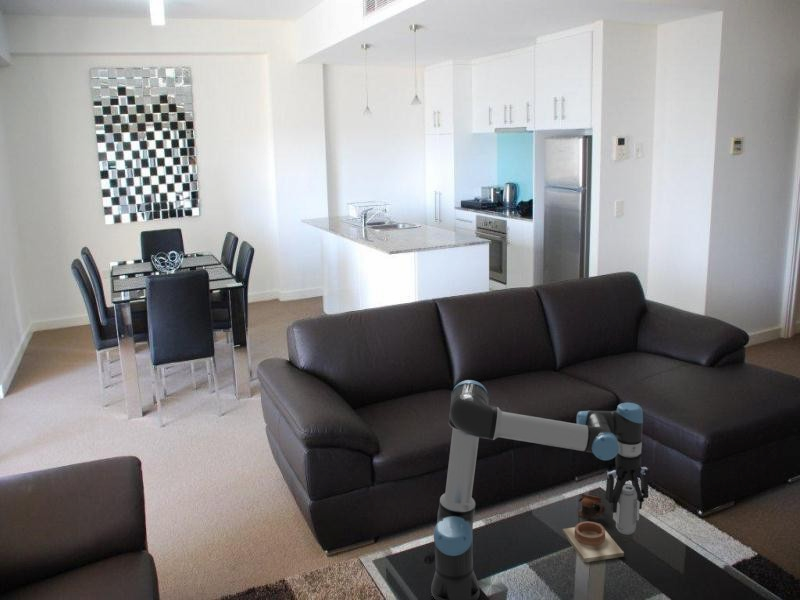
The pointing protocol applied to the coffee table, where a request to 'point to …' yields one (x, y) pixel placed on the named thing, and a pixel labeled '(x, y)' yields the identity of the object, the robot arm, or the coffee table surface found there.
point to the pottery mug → (591, 506)
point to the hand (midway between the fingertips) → (625, 519)
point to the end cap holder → (592, 542)
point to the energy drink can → (627, 510)
